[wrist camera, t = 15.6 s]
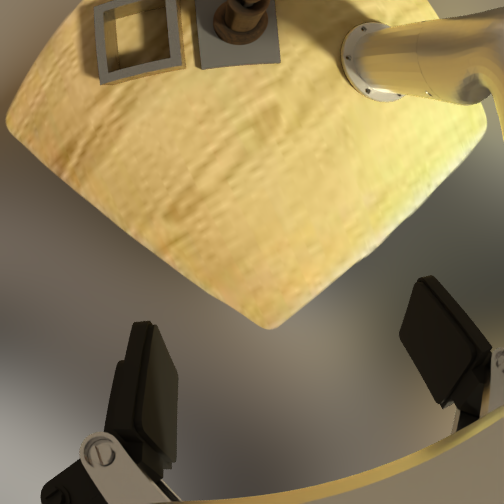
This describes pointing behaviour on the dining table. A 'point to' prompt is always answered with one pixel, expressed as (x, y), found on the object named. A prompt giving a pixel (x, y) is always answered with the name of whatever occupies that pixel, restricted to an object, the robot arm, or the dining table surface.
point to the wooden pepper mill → (241, 21)
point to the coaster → (227, 54)
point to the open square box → (123, 4)
